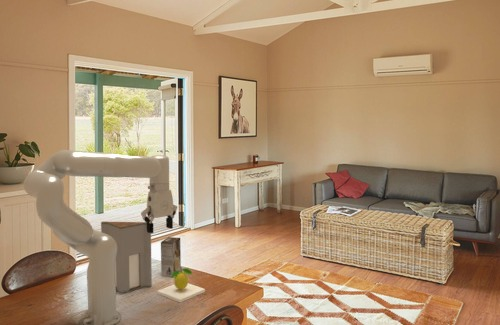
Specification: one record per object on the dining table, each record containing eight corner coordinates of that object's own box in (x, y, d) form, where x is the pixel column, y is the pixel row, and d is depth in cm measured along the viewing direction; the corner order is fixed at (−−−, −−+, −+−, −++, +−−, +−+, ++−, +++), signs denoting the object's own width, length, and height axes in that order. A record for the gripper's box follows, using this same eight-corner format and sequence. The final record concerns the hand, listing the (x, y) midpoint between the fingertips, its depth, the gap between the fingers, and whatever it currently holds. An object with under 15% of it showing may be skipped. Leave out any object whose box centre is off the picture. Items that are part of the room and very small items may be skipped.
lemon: (192, 289, 181) (192, 266, 180) (183, 294, 176) (182, 270, 175) (180, 286, 184) (180, 263, 183) (170, 290, 179) (170, 267, 178)
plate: (180, 302, 170) (180, 299, 170) (157, 293, 179) (156, 290, 179) (205, 291, 181) (205, 289, 181) (182, 283, 190) (182, 281, 190)
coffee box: (168, 269, 208) (168, 236, 207) (181, 270, 207) (180, 237, 205) (160, 275, 199) (160, 241, 198) (174, 277, 198) (173, 242, 197)
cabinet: (151, 285, 187) (150, 222, 185) (145, 294, 178) (144, 227, 175) (103, 284, 188) (102, 221, 185) (95, 293, 178) (93, 227, 176)
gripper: (147, 191, 159) (148, 236, 161) (182, 185, 173) (182, 227, 175) (135, 188, 164) (135, 233, 166) (170, 183, 178) (170, 224, 179)
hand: (160, 230), depth 170 cm, fingers open, 9 cm apart
